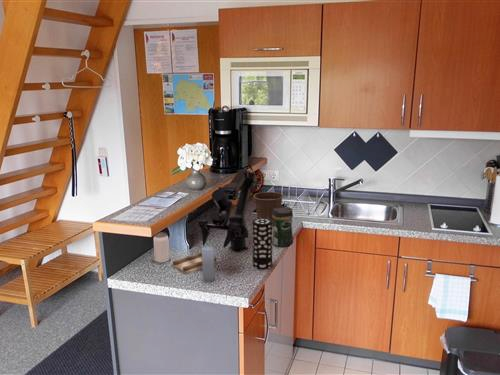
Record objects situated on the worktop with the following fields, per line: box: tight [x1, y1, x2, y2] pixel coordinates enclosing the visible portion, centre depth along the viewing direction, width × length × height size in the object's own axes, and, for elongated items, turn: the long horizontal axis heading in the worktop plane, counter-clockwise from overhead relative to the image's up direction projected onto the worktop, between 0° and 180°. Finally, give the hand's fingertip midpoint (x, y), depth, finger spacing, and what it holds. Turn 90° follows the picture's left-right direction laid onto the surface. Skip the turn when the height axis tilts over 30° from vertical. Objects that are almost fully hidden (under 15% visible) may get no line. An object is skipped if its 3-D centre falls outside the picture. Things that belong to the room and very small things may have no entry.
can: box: [153, 232, 170, 264], centre depth 187 cm, size 6×6×12 cm
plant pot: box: [253, 191, 284, 227], centre depth 235 cm, size 16×16×16 cm
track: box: [171, 251, 218, 275], centre depth 183 cm, size 16×11×2 cm
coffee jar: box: [272, 206, 294, 248], centre depth 203 cm, size 10×8×19 cm
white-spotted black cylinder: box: [251, 218, 273, 271], centre depth 179 cm, size 8×8×20 cm
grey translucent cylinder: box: [201, 245, 216, 282], centre depth 168 cm, size 5×5×13 cm
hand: (213, 246), depth 172 cm, fingers open, 9 cm apart
